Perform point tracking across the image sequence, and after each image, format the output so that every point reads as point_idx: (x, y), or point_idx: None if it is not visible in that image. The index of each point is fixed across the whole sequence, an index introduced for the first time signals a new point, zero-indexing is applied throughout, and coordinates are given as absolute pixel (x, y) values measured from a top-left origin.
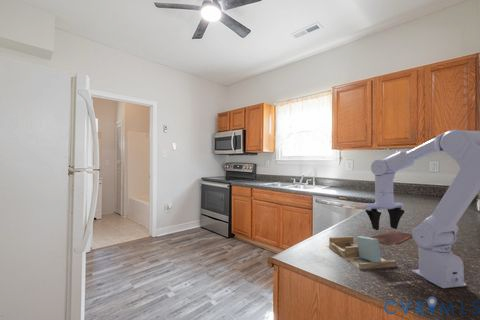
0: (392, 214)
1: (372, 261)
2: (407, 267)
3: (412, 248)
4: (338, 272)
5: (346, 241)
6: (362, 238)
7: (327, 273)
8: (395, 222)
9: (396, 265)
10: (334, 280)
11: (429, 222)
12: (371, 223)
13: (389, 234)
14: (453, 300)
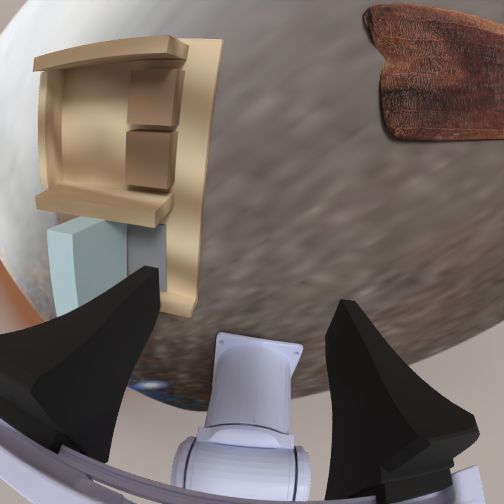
0: (362, 424)
1: (130, 255)
2: (241, 310)
3: (469, 204)
4: (24, 254)
5: (130, 57)
6: (54, 279)
7: (6, 248)
8: (335, 380)
9: (194, 306)
10: (13, 277)
11: None
12: (116, 284)
13: None
14: (191, 398)
